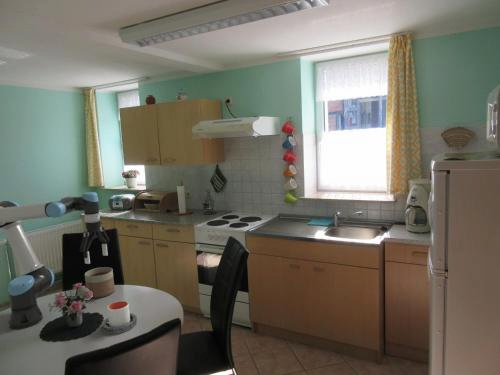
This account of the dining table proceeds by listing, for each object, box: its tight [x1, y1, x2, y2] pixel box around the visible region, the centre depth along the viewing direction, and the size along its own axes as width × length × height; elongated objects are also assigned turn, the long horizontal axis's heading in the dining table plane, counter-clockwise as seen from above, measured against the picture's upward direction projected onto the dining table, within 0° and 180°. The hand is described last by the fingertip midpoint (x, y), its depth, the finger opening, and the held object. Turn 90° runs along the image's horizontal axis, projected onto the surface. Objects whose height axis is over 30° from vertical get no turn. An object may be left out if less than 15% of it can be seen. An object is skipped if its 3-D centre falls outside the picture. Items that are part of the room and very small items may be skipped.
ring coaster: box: [101, 312, 138, 335], centre depth 186 cm, size 16×16×3 cm
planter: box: [84, 266, 116, 299], centre depth 227 cm, size 16×16×14 cm
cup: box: [107, 300, 130, 327], centre depth 186 cm, size 10×10×10 cm
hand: (96, 259), depth 202 cm, fingers open, 13 cm apart
